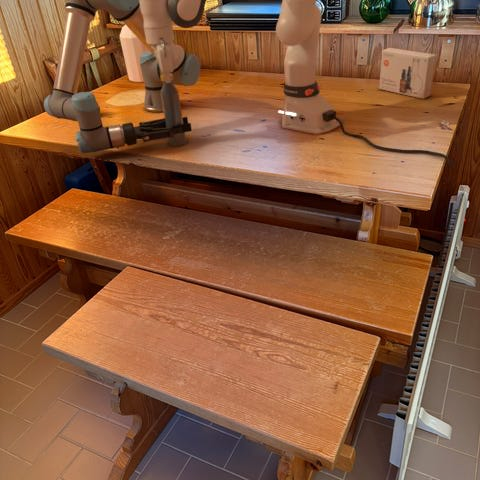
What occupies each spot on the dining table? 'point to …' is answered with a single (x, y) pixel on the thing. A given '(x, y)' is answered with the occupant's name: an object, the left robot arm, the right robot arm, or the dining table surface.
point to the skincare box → (407, 72)
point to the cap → (164, 78)
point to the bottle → (172, 111)
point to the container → (132, 53)
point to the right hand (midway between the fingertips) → (167, 80)
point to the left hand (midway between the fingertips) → (189, 123)
